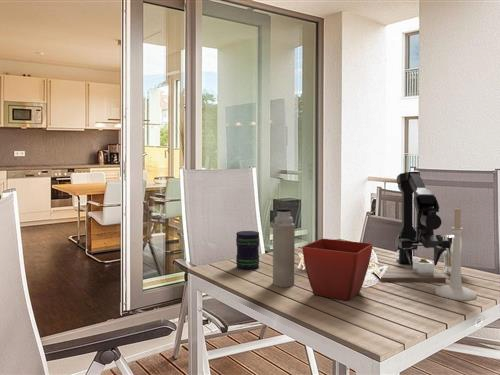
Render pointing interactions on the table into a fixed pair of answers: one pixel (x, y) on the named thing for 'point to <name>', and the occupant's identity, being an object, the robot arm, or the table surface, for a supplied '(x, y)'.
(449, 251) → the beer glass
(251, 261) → the storage jar
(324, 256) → the plant pot
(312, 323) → the table surface
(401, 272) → the board
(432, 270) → the white small box
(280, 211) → the thermos bottle
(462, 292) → the candlestick
